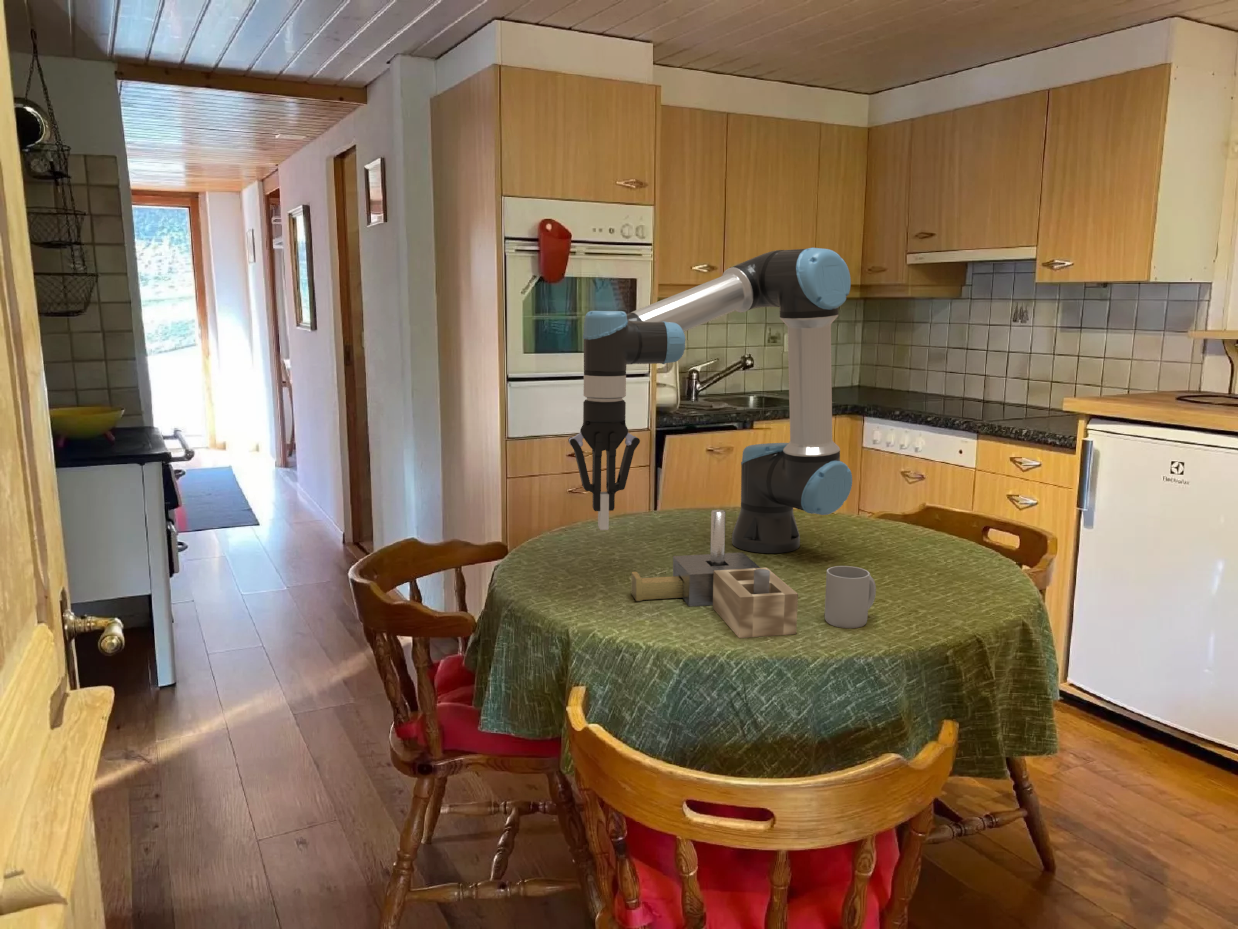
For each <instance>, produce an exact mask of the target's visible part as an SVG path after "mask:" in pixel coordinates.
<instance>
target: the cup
mask: <svg viewBox="0 0 1238 929" xmlns="http://www.w3.org/2000/svg"><path fill="white" fill-rule="evenodd" d="M825 574H826V576H825V577H826V578H825V580H826V581H825V598H824V620H825V621H826V623H827V624H829V625H831V626H833V627H836V628H837V627H838V628H841V629H859V628H862V627H864V626H865V625H866V624H867V622H868V616H869V615H868V614H869V613H868V612H869V610H870V609H871V607H872V606H873V604H874V602H875V598H876V594H877V586H876V582H875V579H874V578H873V577H872V576H871V573H870V571H868V570H867V569H864V568H861V567H858V566H850V565H836V566H832V567H828V568H827V569H826V573H825Z"/></svg>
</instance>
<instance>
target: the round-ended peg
mask: <svg viewBox="0 0 1238 929" xmlns="http://www.w3.org/2000/svg"><path fill="white" fill-rule="evenodd" d="M710 512H711V513H710V514H711V516H710V518H711V520H710V566H724V553H725V549H726V547H725V545H726V544H725V543H726V542H725V541H726V510H723V509H713V510H711V511H710Z"/></svg>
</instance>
